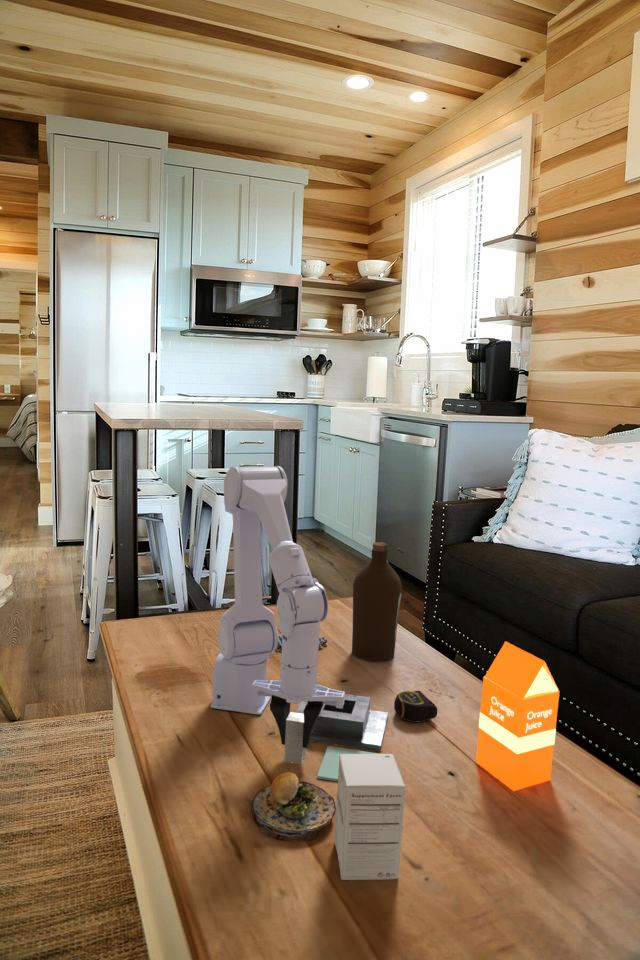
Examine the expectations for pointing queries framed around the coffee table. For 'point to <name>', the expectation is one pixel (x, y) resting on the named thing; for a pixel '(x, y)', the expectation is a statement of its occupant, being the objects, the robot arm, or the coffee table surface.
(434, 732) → the coffee table surface
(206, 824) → the coffee table surface
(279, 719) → the robot arm
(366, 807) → the supplement box
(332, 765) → the mat
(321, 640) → the woven mat
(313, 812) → the burger
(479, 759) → the orange juice
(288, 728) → the light grey rectangular block
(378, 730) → the plate
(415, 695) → the tape measure
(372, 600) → the olive oil
